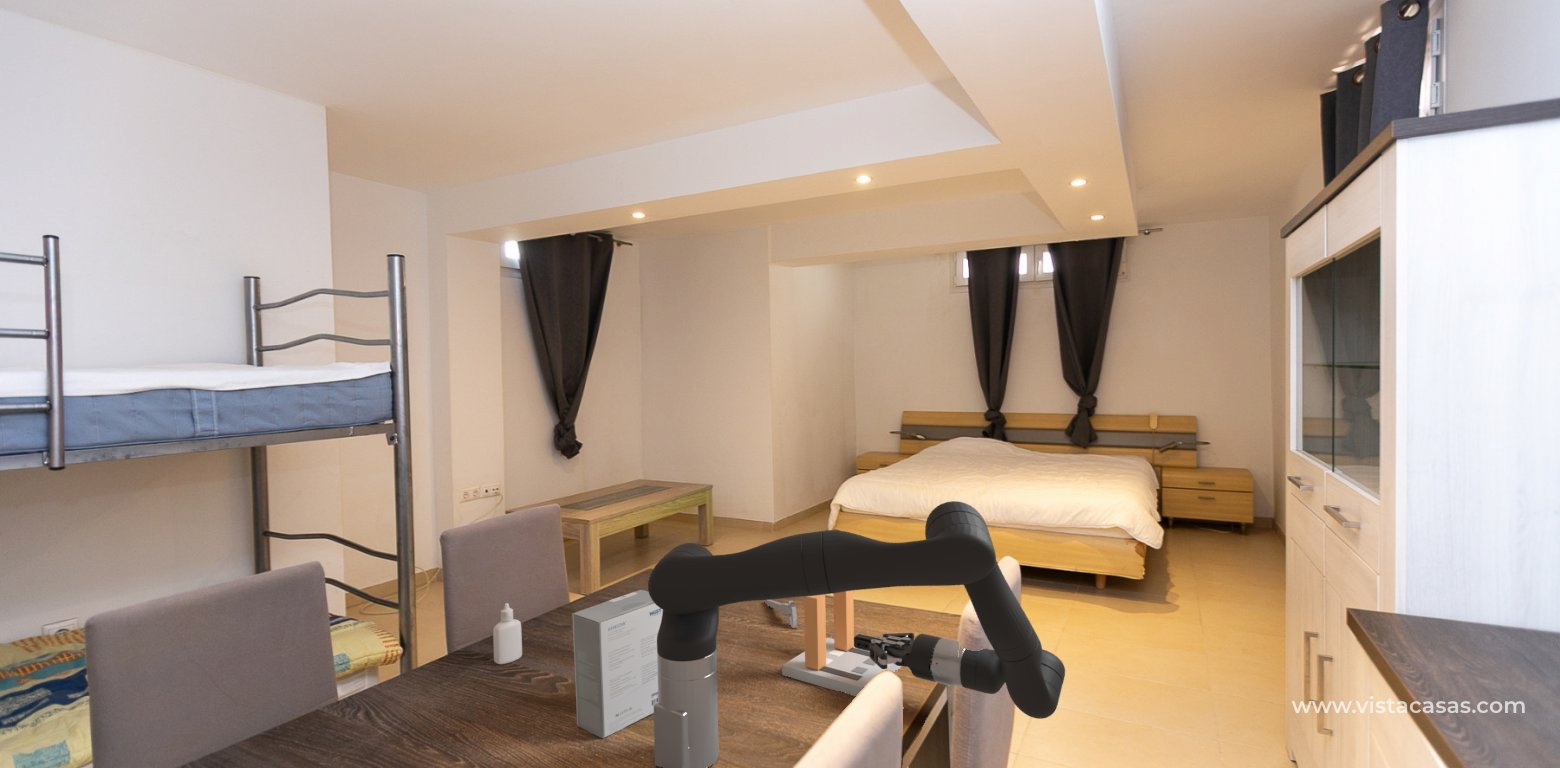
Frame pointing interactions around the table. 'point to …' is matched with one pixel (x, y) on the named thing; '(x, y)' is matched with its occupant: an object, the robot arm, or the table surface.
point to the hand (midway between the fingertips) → (855, 640)
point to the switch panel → (837, 669)
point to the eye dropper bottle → (507, 638)
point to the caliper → (785, 610)
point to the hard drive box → (616, 662)
